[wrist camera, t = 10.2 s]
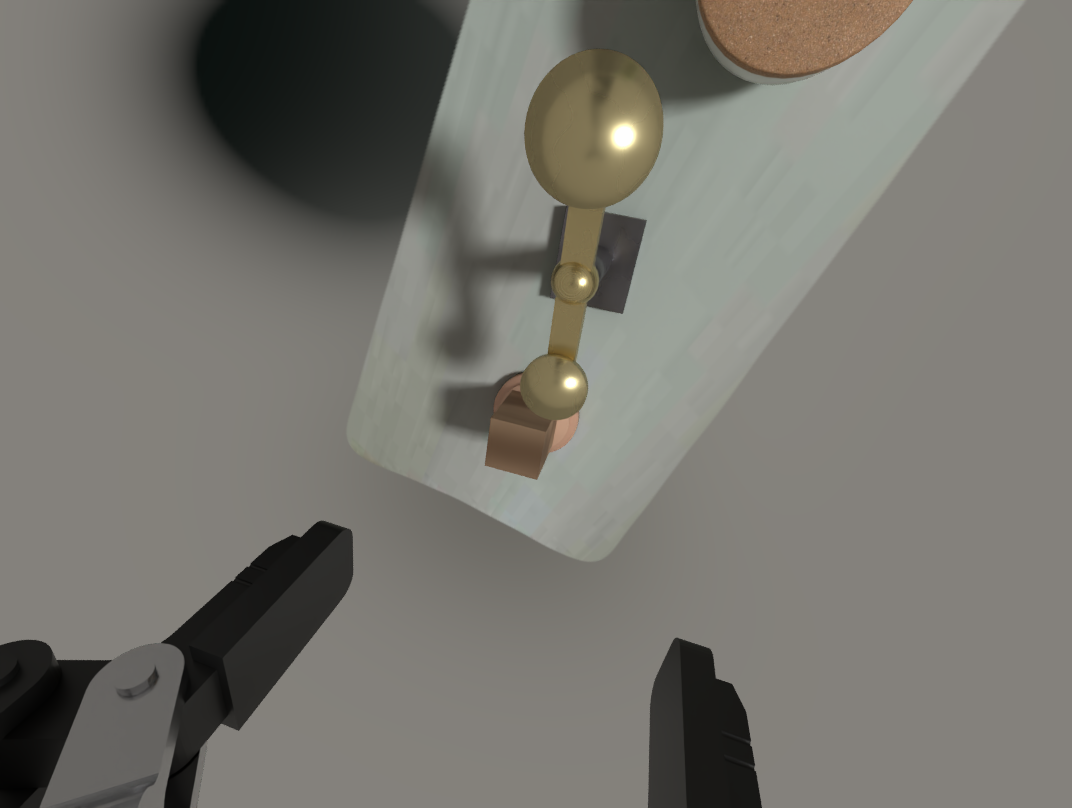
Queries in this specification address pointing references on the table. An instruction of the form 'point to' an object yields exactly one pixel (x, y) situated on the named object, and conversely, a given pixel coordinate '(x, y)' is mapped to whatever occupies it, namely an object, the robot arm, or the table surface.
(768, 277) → the table surface
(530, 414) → the walnut block
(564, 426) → the terracotta dish
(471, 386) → the table surface
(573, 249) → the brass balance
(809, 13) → the lidded jar
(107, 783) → the robot arm
